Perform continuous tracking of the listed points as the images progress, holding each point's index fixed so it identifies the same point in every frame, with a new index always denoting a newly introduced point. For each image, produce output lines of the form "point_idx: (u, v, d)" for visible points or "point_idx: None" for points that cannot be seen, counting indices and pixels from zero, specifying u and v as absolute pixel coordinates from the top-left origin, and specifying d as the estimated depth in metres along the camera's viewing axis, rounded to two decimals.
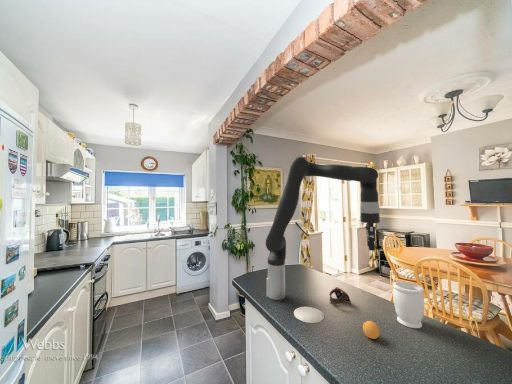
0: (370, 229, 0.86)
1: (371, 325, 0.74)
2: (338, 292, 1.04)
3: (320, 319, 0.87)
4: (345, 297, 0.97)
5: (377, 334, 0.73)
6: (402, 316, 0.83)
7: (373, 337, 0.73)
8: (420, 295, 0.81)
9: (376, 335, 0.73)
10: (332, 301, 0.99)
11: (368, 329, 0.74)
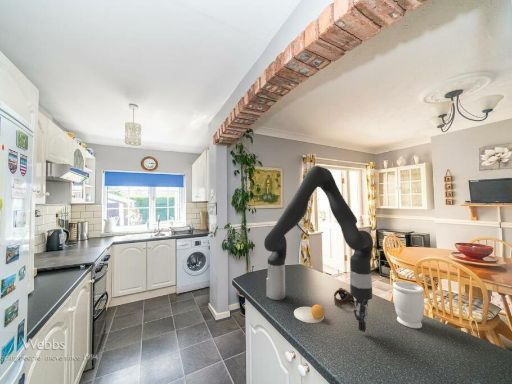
0: (356, 314, 0.74)
1: (313, 307, 0.88)
2: (342, 293, 1.03)
3: (320, 319, 0.87)
4: (350, 298, 0.96)
5: (319, 310, 0.86)
6: (402, 316, 0.83)
7: (319, 315, 0.86)
8: (420, 295, 0.81)
9: (319, 311, 0.86)
10: (337, 302, 0.98)
11: (312, 312, 0.87)
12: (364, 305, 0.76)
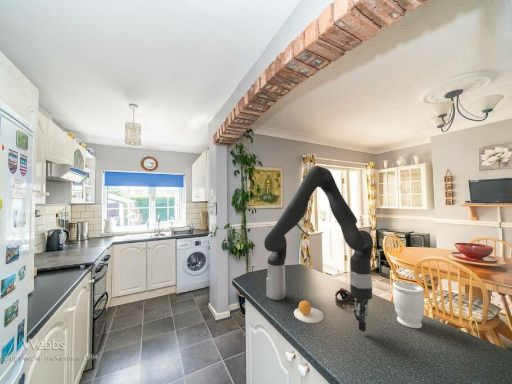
0: (356, 314, 0.74)
1: None
2: (343, 293, 1.03)
3: (320, 319, 0.87)
4: (351, 298, 0.96)
5: None
6: (402, 316, 0.83)
7: (301, 305, 0.91)
8: (420, 295, 0.81)
9: (299, 306, 0.92)
10: (338, 302, 0.97)
11: (302, 312, 0.90)
12: (364, 305, 0.76)
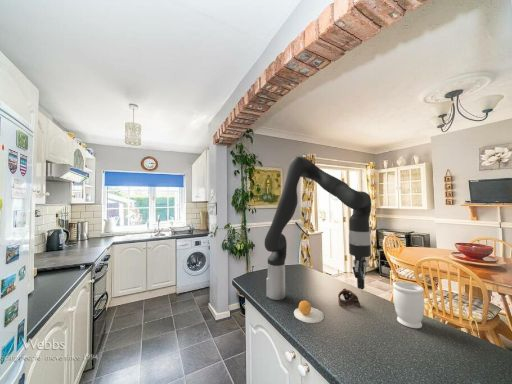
0: (355, 271, 0.75)
1: None
2: (346, 293, 1.02)
3: (320, 319, 0.87)
4: (355, 299, 0.95)
5: None
6: (402, 316, 0.83)
7: (301, 305, 0.91)
8: (420, 295, 0.81)
9: (299, 306, 0.92)
10: (341, 303, 0.97)
11: (302, 312, 0.90)
12: (363, 263, 0.77)
